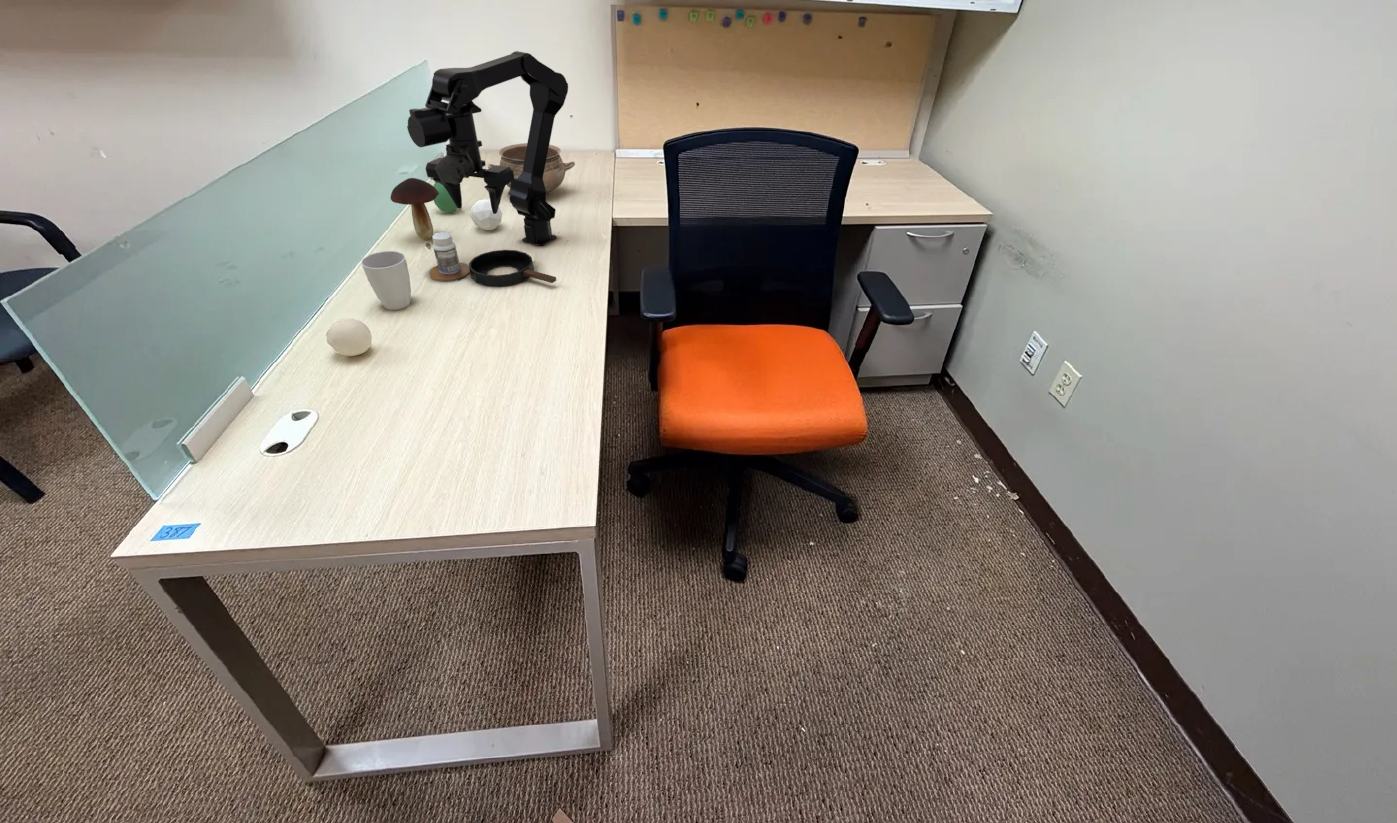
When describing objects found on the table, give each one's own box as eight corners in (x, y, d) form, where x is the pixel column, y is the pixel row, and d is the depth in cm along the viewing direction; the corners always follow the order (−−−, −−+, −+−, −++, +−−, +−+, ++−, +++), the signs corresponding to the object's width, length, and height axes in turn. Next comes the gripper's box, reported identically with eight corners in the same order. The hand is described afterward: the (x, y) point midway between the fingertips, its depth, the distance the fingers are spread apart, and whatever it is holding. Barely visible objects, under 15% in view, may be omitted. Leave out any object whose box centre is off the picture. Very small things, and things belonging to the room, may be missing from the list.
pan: (500, 255, 146) (498, 245, 144) (573, 275, 139) (572, 265, 137) (457, 277, 136) (455, 266, 134) (535, 300, 129) (533, 289, 127)
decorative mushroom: (434, 249, 148) (418, 187, 138) (394, 244, 149) (375, 182, 140) (457, 232, 156) (443, 173, 147) (418, 228, 158) (403, 169, 148)
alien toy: (462, 205, 171) (454, 169, 165) (463, 214, 166) (455, 178, 159) (436, 207, 169) (427, 171, 163) (436, 217, 164) (426, 179, 158)
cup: (426, 299, 128) (413, 254, 122) (399, 316, 122) (385, 271, 115) (395, 292, 130) (381, 248, 123) (367, 309, 124) (351, 263, 117)
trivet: (450, 261, 143) (449, 259, 142) (479, 269, 140) (478, 267, 139) (420, 275, 136) (420, 273, 136) (450, 284, 133) (449, 282, 133)
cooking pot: (575, 182, 190) (572, 141, 183) (579, 202, 176) (575, 159, 168) (494, 184, 186) (487, 143, 178) (491, 206, 171) (483, 162, 164)
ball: (487, 241, 159) (467, 223, 152) (481, 221, 162) (461, 202, 155) (511, 226, 158) (491, 207, 150) (504, 206, 161) (485, 187, 154)
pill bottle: (442, 266, 139) (433, 231, 134) (463, 266, 140) (455, 231, 134) (437, 275, 136) (427, 239, 130) (458, 275, 136) (449, 239, 131)
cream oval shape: (344, 342, 114) (331, 311, 110) (382, 343, 114) (371, 312, 109) (325, 361, 108) (311, 329, 104) (365, 363, 108) (353, 331, 104)
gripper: (400, 142, 122) (419, 217, 132) (480, 152, 119) (494, 229, 128) (433, 129, 131) (450, 201, 141) (509, 139, 127) (520, 211, 137)
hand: (477, 210), depth 136 cm, fingers open, 9 cm apart
